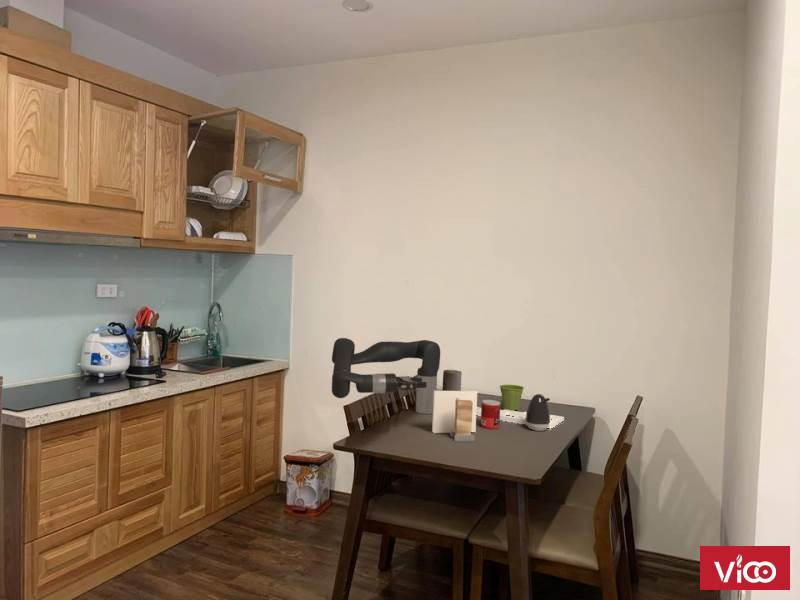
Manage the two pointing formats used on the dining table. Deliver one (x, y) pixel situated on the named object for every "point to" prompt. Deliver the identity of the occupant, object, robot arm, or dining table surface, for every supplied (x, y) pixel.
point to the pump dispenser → (538, 413)
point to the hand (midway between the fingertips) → (423, 382)
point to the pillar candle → (451, 380)
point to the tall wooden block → (463, 417)
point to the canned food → (490, 414)
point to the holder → (522, 417)
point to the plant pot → (511, 396)
